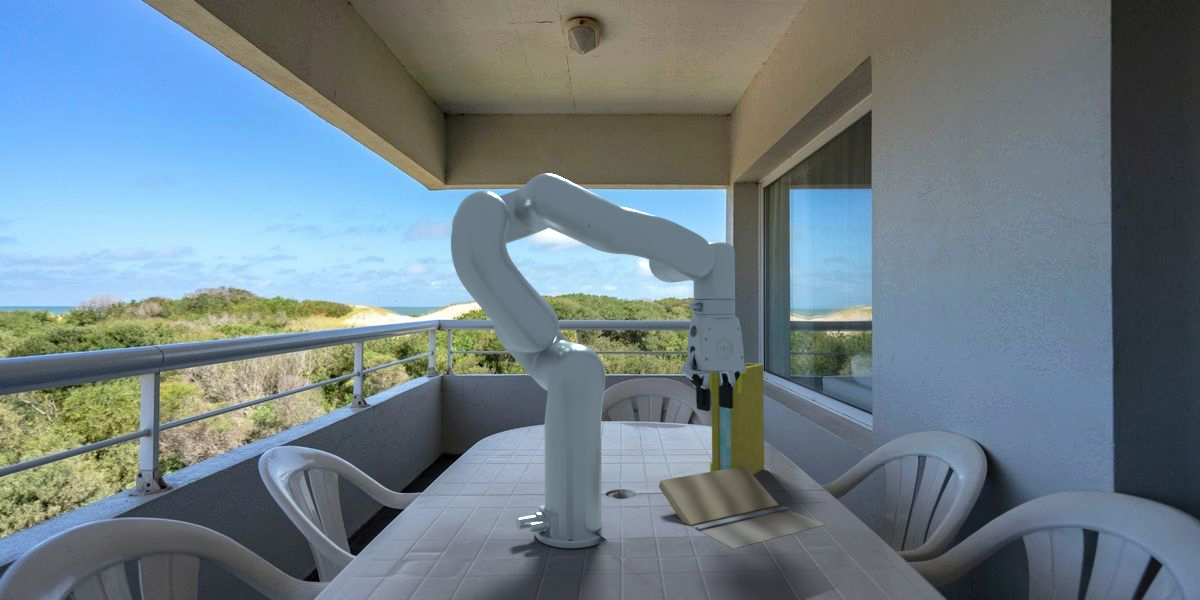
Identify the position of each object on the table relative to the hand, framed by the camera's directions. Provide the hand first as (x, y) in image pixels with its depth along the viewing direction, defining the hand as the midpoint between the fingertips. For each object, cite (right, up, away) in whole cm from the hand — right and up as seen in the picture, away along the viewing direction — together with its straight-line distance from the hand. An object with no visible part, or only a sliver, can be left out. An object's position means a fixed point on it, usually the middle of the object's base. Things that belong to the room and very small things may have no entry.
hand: (714, 407), depth 103 cm
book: (+10, -20, +21) cm, 31 cm away
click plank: (0, -16, -1) cm, 16 cm away
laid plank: (+5, -19, -10) cm, 22 cm away
